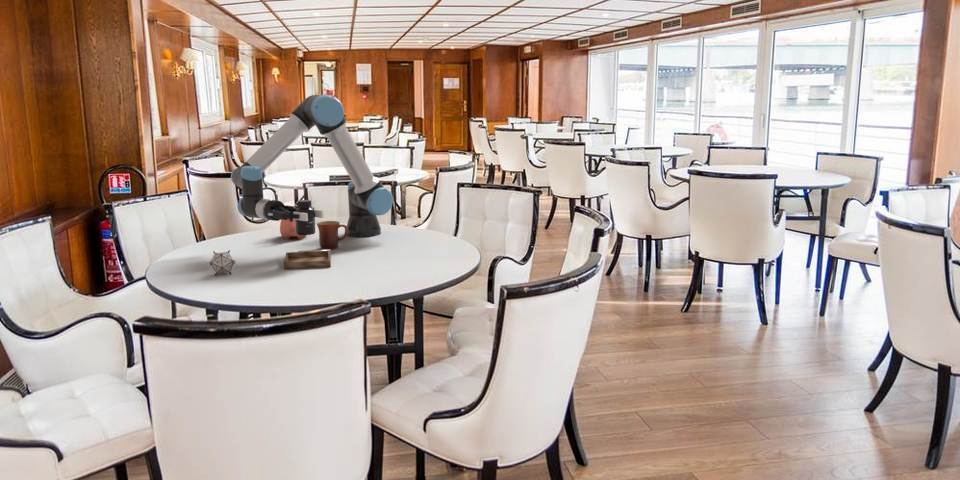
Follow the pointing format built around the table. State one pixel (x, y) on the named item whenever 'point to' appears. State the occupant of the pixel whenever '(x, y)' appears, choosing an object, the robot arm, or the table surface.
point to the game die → (222, 262)
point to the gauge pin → (315, 250)
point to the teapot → (289, 229)
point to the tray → (307, 259)
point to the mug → (330, 234)
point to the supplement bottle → (309, 225)
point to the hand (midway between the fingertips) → (314, 215)
